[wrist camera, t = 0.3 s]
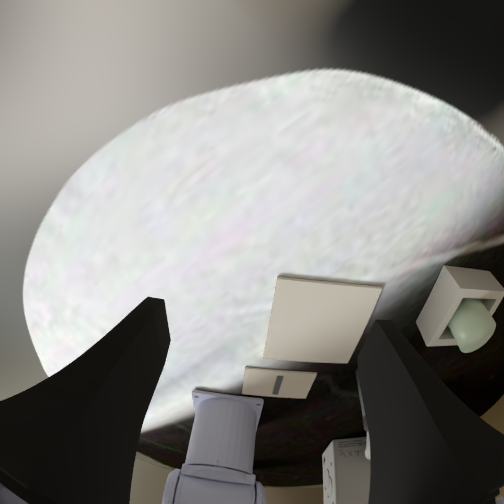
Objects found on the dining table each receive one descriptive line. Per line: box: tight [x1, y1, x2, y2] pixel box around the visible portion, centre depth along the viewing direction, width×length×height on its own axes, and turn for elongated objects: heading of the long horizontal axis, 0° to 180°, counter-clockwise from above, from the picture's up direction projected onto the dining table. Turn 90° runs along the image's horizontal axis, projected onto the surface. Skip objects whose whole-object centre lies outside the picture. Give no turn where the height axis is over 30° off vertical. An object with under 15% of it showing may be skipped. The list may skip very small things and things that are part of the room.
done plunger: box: [448, 298, 496, 353], centre depth 18 cm, size 4×4×4 cm
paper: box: [263, 276, 382, 363], centre depth 22 cm, size 9×8×1 cm
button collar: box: [416, 265, 504, 346], centre depth 19 cm, size 6×6×3 cm
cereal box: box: [322, 437, 371, 504], centre depth 26 cm, size 22×8×25 cm, turn 89°
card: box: [242, 367, 317, 399], centre depth 27 cm, size 5×7×1 cm
